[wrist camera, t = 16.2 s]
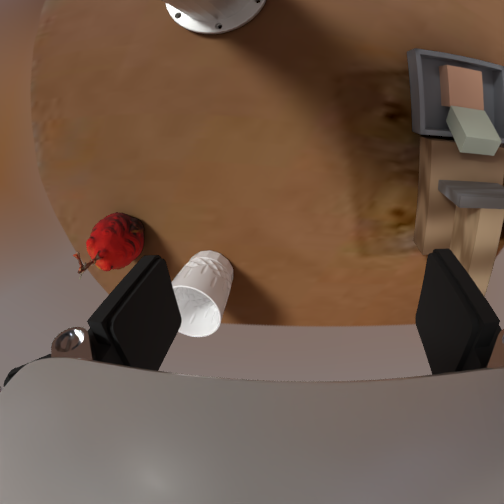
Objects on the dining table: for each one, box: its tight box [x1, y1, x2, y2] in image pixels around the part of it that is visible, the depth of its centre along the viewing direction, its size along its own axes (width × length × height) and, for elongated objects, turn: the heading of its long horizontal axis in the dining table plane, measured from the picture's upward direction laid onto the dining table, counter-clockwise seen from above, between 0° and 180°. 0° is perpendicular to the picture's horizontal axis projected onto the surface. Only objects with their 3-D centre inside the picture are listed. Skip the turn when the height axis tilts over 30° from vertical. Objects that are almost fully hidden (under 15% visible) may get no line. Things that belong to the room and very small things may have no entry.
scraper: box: [438, 180, 504, 296], centre depth 29 cm, size 13×9×6 cm
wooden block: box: [414, 136, 504, 255], centre depth 32 cm, size 14×11×4 cm
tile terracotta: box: [439, 65, 484, 111], centre depth 26 cm, size 5×5×2 cm
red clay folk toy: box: [73, 212, 144, 279], centre depth 38 cm, size 8×7×15 cm
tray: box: [407, 49, 504, 143], centre depth 27 cm, size 10×13×3 cm
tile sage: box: [446, 106, 502, 156], centre depth 26 cm, size 5×5×2 cm
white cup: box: [171, 250, 233, 337], centre depth 41 cm, size 8×8×10 cm
